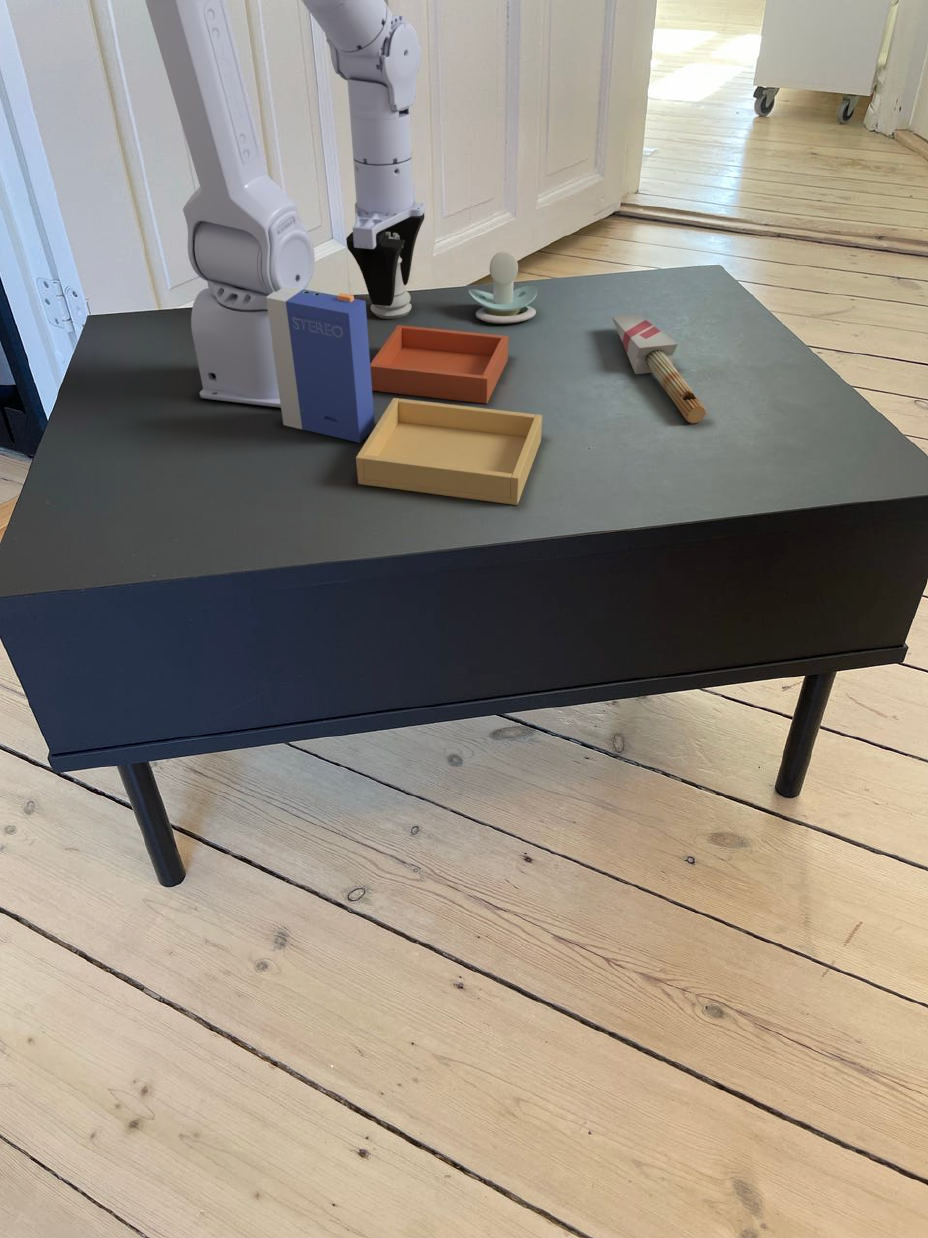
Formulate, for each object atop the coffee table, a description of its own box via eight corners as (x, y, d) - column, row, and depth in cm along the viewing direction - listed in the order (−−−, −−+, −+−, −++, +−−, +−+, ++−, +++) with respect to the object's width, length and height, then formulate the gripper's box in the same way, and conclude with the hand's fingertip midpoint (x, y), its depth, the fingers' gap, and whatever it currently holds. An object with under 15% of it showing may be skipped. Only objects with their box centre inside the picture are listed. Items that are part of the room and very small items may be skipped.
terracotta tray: (370, 390, 91) (368, 365, 89) (398, 348, 98) (397, 324, 96) (487, 403, 89) (487, 378, 87) (507, 359, 96) (508, 335, 94)
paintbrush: (644, 298, 99) (718, 399, 85) (640, 324, 101) (713, 426, 86) (608, 301, 98) (676, 403, 84) (605, 327, 100) (671, 431, 86)
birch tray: (358, 484, 79) (355, 457, 77) (394, 422, 86) (393, 397, 85) (517, 505, 76) (518, 478, 75) (541, 440, 84) (542, 414, 82)
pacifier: (543, 325, 102) (532, 300, 106) (546, 266, 98) (535, 243, 102) (474, 329, 101) (466, 304, 106) (474, 271, 97) (466, 247, 101)
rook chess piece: (406, 321, 102) (402, 245, 97) (365, 318, 103) (359, 242, 98) (416, 304, 106) (413, 229, 101) (376, 301, 106) (371, 227, 101)
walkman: (375, 428, 86) (365, 295, 78) (359, 443, 84) (348, 308, 76) (299, 410, 88) (282, 280, 80) (282, 424, 86) (263, 292, 78)
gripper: (400, 182, 88) (407, 325, 97) (441, 138, 99) (444, 271, 108) (327, 176, 90) (340, 318, 98) (375, 134, 100) (383, 265, 109)
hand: (390, 293), depth 103 cm, fingers open, 5 cm apart
